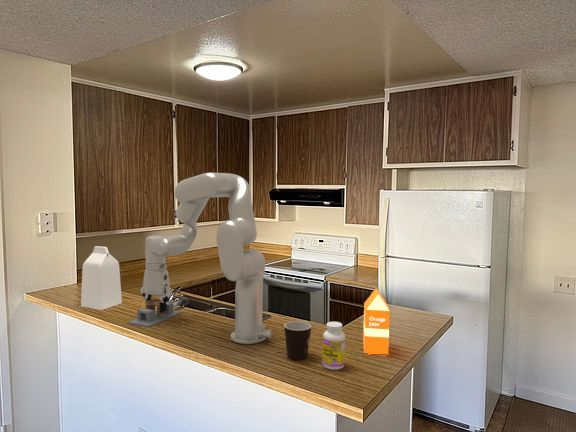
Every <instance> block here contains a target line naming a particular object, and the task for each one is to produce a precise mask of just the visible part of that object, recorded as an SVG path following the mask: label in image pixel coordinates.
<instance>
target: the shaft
mask: <svg viewBox="0 0 576 432" xmlns="http://www.w3.org/2000/svg"><path fill="white" fill-rule="evenodd" d="M172 303H173V309H174V308H175V307H179V306H181V305H183V306H188V305H189V303H190V299H189V297H186V296H181V297H178V300H177V301H173V302H172Z"/></svg>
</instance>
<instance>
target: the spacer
mask: <svg viewBox="0 0 576 432" xmlns="http://www.w3.org/2000/svg"><path fill="white" fill-rule="evenodd" d="M160 303H161V300H160V298H159V299H158V298H151V300H148V301H146V300H145V309H151V310H155V311H157V316H161V315H164V314H166V311H165V312H162V313H160Z"/></svg>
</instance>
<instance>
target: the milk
mask: <svg viewBox="0 0 576 432" xmlns="http://www.w3.org/2000/svg"><path fill="white" fill-rule="evenodd" d="M108 249H109V248H108V247H107V246H99V245H98V246H97V245H95V246H94V247H93V250H92V253H91V254H90V255H89V256H88V257H87V258H86V260H85V261H84V262H83V264H82V271H81V274H82V275H81V276H82V277H81V297H80V307H83V308H89V309H94V310H99V311H103V310H106V309H109V308H111V307H115V306H118V305H121V304H123V301H122V300H123V299H122V288H121V287H122V286H121V283H122V282H121V273H120V272H121V271H120V263H119V261H118V260H117V259H116V258H115V257H114V256H113V255H112V254H110V252H109V250H108Z"/></svg>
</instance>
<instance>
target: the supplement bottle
mask: <svg viewBox="0 0 576 432" xmlns="http://www.w3.org/2000/svg"><path fill="white" fill-rule="evenodd" d="M342 330H343V324H342V322H339V321H328V322H327V323H326V330H325V331H324V332H323V334H322V362H321V363H322V366H323V367H324V368H326V369H328V370H332V371H333V370H334V371H335V370H341V369H343V368H344V366H345V362H346V361H345V359H346V358H345V357H346V356H345V355H346V334H345V333H344V332H343V331H342Z"/></svg>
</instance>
